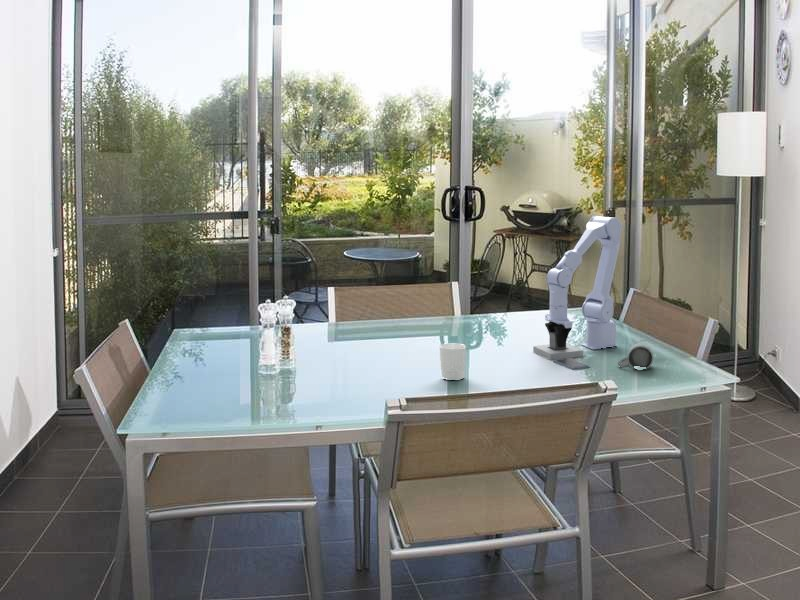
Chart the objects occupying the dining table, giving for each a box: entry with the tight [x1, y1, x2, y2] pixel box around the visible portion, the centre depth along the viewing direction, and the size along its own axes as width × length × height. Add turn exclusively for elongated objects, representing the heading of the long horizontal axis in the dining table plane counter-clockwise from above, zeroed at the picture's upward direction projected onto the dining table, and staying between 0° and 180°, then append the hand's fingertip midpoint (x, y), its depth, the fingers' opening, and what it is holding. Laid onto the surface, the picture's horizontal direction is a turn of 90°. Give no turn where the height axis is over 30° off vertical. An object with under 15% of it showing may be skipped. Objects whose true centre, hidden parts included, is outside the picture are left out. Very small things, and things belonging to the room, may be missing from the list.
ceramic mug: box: [617, 342, 654, 369], centre depth 290 cm, size 11×8×8 cm
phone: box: [552, 358, 590, 371], centre depth 295 cm, size 6×11×1 cm, turn 24°
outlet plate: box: [532, 342, 584, 361], centre depth 309 cm, size 12×12×2 cm
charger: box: [549, 332, 566, 351], centre depth 308 cm, size 4×4×6 cm
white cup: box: [439, 342, 467, 380], centre depth 282 cm, size 8×8×10 cm
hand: (558, 345), depth 309 cm, fingers closed on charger, 4 cm apart
